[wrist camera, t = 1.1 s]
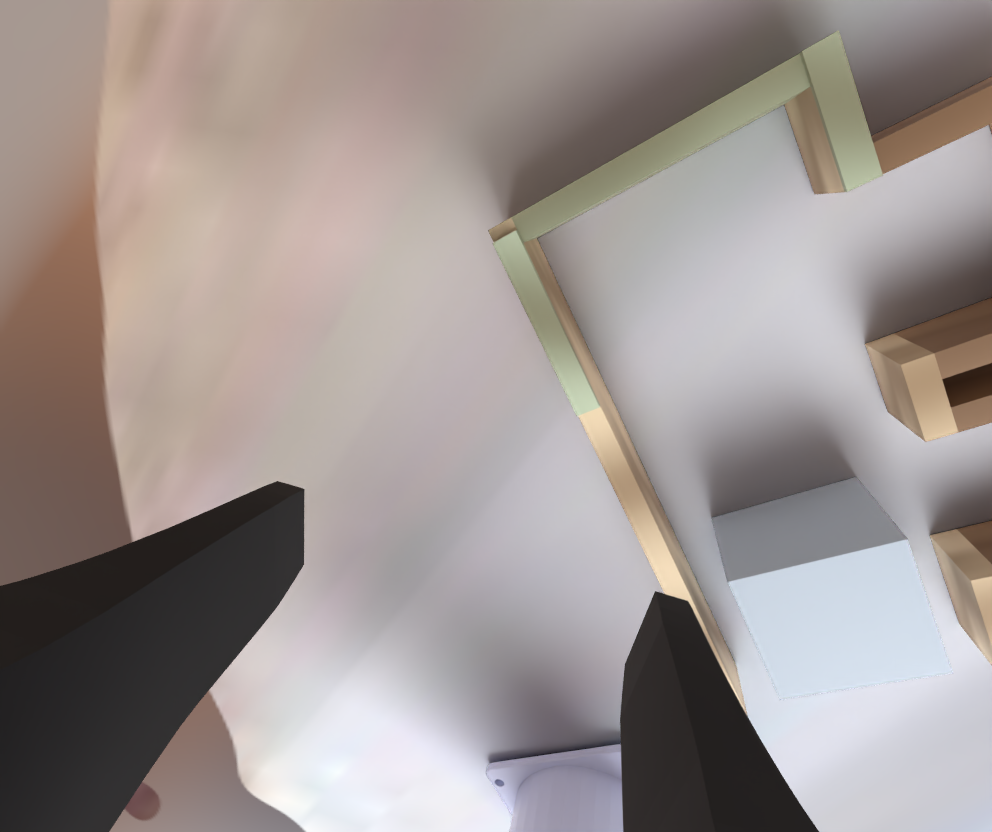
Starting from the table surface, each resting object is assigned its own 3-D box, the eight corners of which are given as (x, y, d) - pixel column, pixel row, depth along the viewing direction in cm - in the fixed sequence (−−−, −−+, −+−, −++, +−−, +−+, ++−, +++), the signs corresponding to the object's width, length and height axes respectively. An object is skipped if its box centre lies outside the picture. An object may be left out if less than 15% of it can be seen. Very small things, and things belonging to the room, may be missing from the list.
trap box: (1140, 591, 18) (1221, 652, 15) (717, 669, 23) (727, 725, 20) (989, -45, 13) (1069, -102, 11) (505, 227, 18) (486, 230, 16)
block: (895, 588, 20) (953, 673, 16) (755, 617, 22) (779, 700, 18) (854, 475, 19) (907, 539, 15) (711, 515, 20) (727, 581, 17)
